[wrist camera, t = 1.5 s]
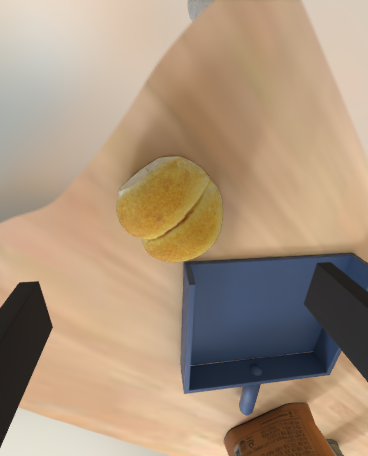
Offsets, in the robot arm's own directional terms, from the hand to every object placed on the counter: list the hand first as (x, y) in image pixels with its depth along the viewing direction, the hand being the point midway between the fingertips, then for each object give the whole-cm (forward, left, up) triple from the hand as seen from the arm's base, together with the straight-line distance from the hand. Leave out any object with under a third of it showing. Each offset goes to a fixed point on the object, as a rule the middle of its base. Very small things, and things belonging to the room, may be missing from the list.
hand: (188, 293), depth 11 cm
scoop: (+19, +11, -11) cm, 24 cm away
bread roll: (0, 0, -11) cm, 11 cm away
